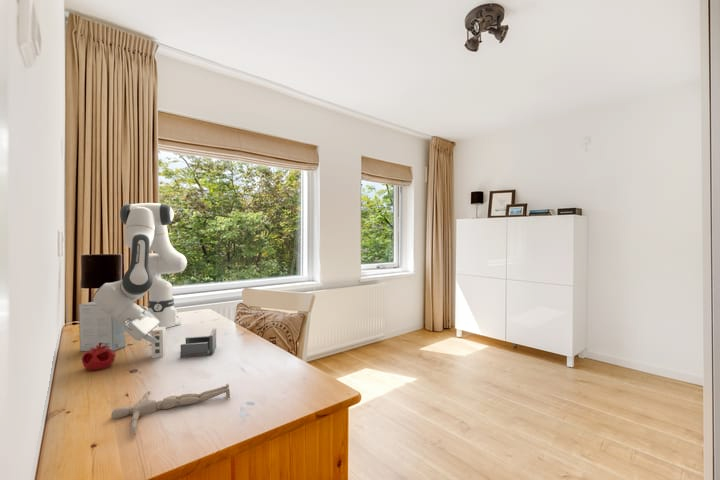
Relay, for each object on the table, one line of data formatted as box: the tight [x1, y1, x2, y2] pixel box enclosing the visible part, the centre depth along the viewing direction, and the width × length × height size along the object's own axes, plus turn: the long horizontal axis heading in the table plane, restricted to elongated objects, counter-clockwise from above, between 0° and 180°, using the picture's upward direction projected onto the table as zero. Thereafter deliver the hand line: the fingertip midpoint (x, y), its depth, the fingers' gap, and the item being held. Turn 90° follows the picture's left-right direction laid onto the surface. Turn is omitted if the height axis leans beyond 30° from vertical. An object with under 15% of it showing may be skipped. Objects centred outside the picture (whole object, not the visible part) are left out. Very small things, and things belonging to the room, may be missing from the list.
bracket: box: [179, 328, 217, 358], centre depth 147 cm, size 11×12×8 cm
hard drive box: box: [78, 301, 127, 352], centre depth 152 cm, size 16×8×20 cm, turn 84°
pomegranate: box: [81, 342, 116, 371], centre depth 131 cm, size 10×10×9 cm
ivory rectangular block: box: [150, 327, 167, 359], centre depth 143 cm, size 5×4×11 cm
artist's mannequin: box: [111, 383, 231, 436], centre depth 101 cm, size 28×4×30 cm
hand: (159, 338), depth 143 cm, fingers open, 8 cm apart
